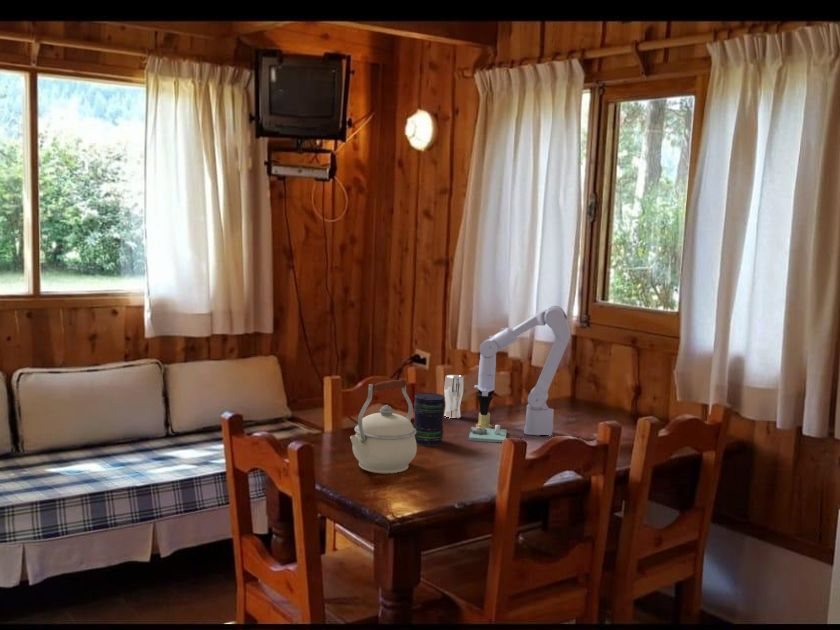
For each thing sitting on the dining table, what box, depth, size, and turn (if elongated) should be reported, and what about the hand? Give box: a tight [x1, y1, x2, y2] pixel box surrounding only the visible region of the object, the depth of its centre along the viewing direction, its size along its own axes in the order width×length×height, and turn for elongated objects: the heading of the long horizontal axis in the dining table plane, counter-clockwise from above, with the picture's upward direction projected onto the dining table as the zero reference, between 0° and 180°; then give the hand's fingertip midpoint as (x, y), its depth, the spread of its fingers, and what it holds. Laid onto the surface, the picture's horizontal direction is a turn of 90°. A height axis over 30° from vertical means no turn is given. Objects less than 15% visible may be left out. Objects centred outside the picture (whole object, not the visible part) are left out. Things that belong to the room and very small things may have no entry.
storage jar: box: [412, 392, 446, 447], centre depth 265 cm, size 10×10×15 cm
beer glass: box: [443, 374, 465, 419], centre depth 301 cm, size 7×7×15 cm
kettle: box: [349, 377, 418, 475], centre depth 234 cm, size 25×18×25 cm
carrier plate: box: [468, 424, 507, 443], centre depth 276 cm, size 12×14×4 cm
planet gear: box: [475, 411, 492, 429], centre depth 288 cm, size 5×5×5 cm
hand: (484, 412), depth 288 cm, fingers open, 7 cm apart
